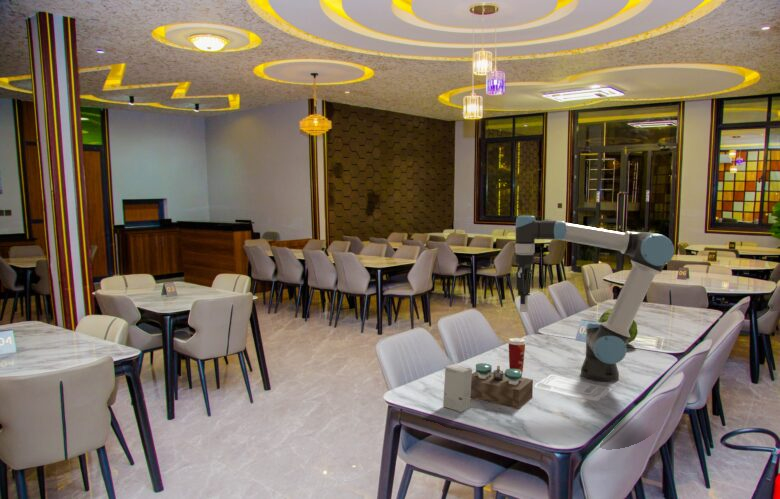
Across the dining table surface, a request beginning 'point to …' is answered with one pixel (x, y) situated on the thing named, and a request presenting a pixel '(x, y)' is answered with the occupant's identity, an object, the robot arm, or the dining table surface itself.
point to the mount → (501, 391)
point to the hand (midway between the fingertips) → (523, 311)
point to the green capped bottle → (513, 376)
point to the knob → (483, 370)
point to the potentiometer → (498, 374)
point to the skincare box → (457, 387)
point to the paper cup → (516, 353)
